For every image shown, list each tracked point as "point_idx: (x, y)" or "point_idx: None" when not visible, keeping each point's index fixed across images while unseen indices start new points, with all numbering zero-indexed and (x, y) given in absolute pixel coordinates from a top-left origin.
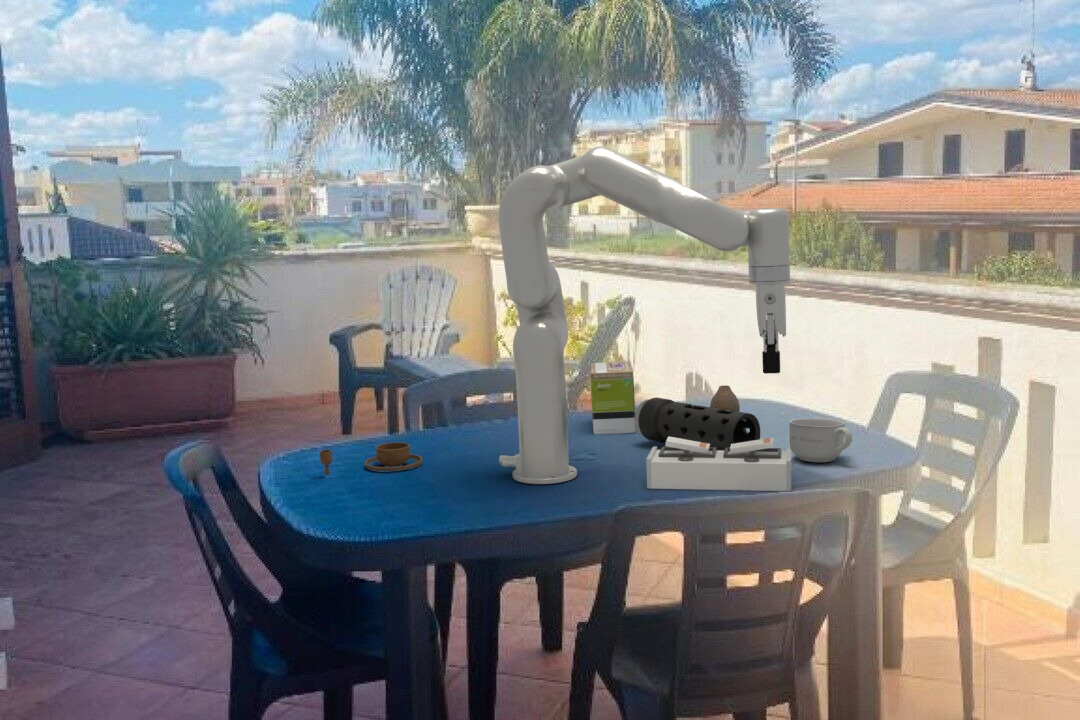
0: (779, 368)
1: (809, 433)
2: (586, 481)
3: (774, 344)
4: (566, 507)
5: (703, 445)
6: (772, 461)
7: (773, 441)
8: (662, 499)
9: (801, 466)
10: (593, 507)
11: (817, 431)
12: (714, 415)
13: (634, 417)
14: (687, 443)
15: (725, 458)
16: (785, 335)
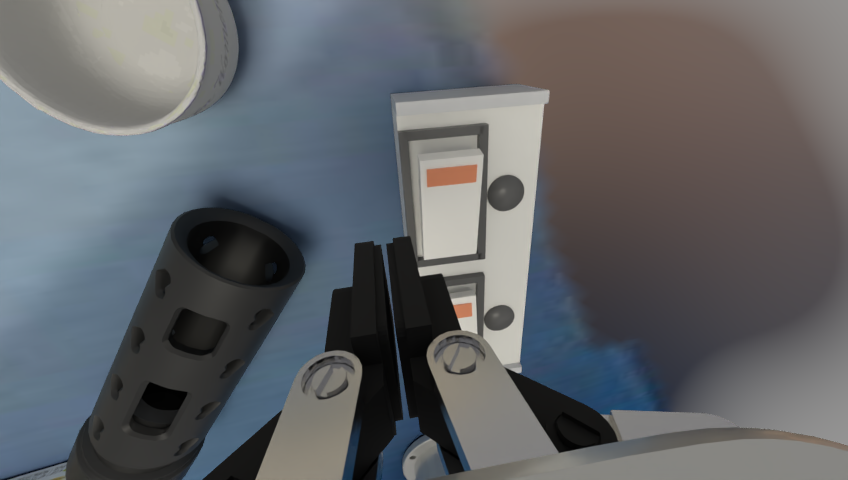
0: (413, 250)
1: (216, 46)
2: None
3: (597, 417)
4: (594, 389)
5: (460, 309)
6: (516, 141)
7: (466, 155)
8: (564, 299)
9: (267, 72)
10: (598, 364)
11: (204, 11)
12: (231, 353)
13: None
14: None
15: (487, 250)
16: (788, 434)
